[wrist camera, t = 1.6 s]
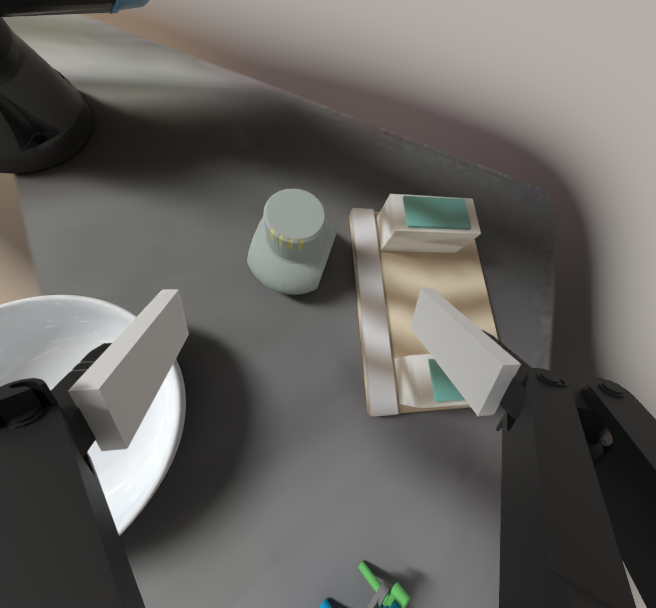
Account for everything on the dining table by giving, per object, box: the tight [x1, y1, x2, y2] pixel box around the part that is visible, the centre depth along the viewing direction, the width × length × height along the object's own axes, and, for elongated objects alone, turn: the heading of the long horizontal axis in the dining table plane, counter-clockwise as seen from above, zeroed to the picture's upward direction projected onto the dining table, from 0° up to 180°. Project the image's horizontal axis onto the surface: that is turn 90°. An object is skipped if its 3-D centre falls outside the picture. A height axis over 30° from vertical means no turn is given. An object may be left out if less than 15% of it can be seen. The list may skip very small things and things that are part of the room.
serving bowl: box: [0, 295, 186, 536], centre depth 22 cm, size 21×21×7 cm
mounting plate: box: [349, 194, 498, 417], centre depth 32 cm, size 26×18×6 cm
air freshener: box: [247, 189, 336, 295], centre depth 29 cm, size 11×8×10 cm
